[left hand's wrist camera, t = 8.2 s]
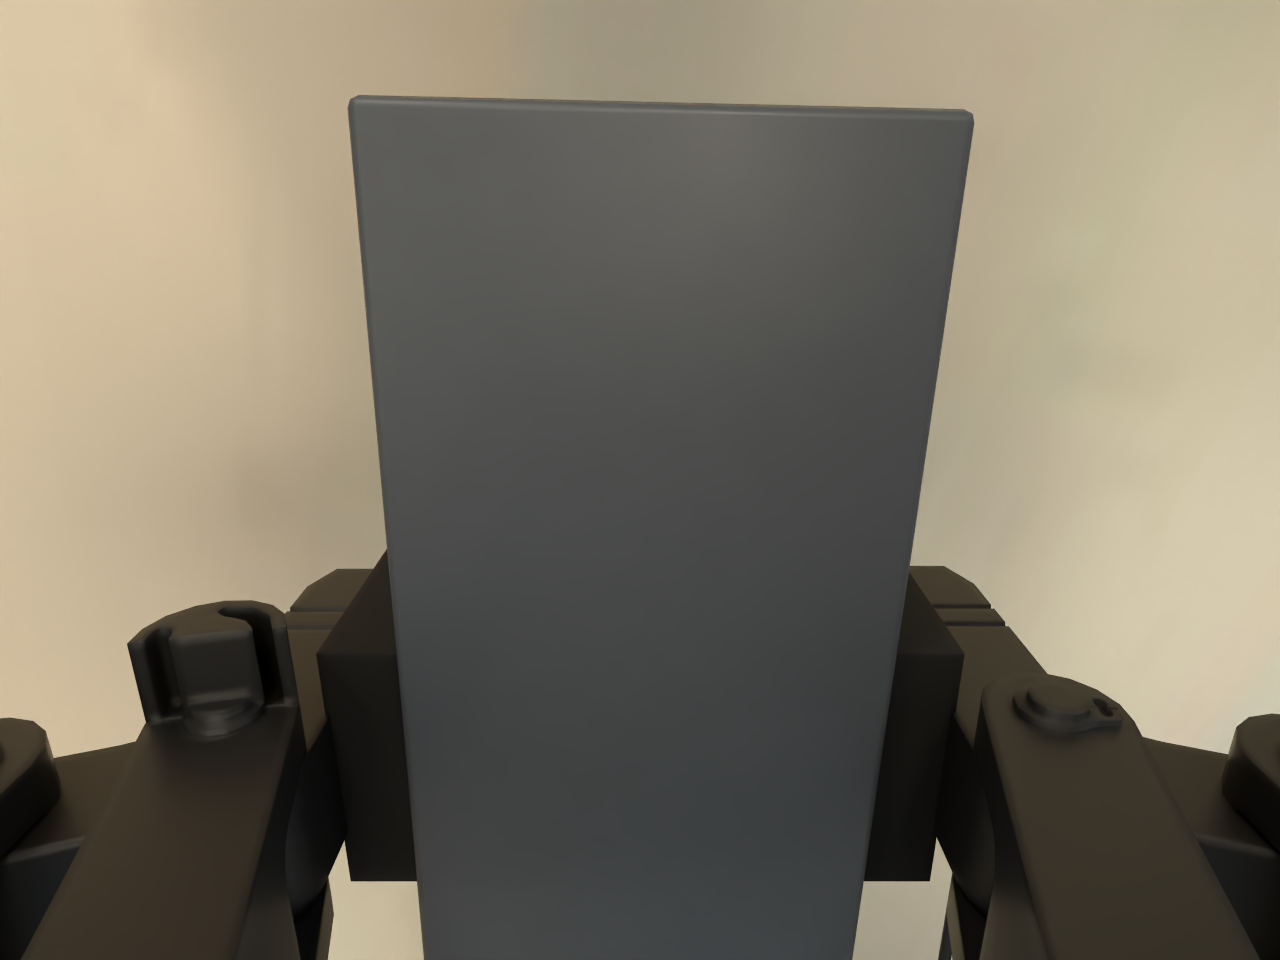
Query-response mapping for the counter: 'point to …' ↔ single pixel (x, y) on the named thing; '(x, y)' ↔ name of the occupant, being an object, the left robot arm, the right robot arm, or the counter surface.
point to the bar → (649, 503)
